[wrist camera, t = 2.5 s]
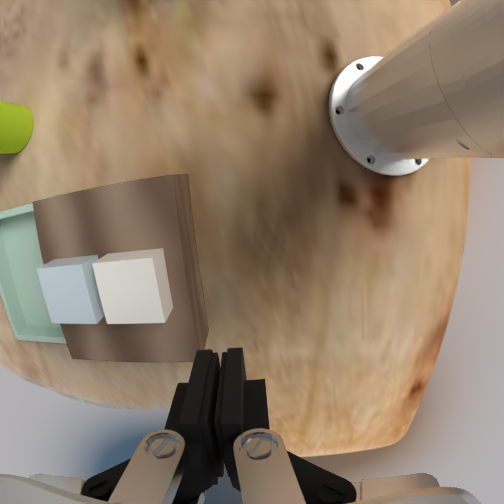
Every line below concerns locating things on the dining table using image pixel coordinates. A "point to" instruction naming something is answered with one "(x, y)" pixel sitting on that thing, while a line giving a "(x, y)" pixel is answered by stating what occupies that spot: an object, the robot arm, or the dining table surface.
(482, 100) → the robot arm
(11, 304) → the box
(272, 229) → the dining table surface
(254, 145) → the dining table surface
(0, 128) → the soap dispenser
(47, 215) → the brown wooden block
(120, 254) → the cream square block
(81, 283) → the pale blue square block
